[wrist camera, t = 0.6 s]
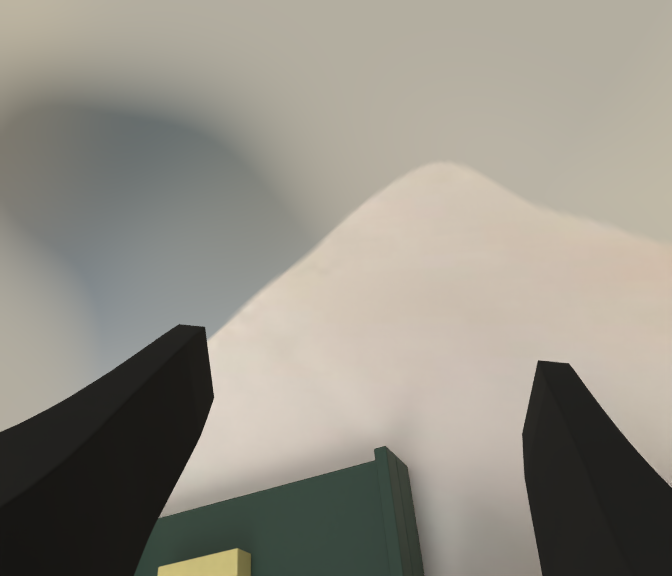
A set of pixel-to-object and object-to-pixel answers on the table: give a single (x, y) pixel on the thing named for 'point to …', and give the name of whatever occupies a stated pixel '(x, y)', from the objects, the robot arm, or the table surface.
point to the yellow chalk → (211, 565)
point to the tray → (304, 526)
